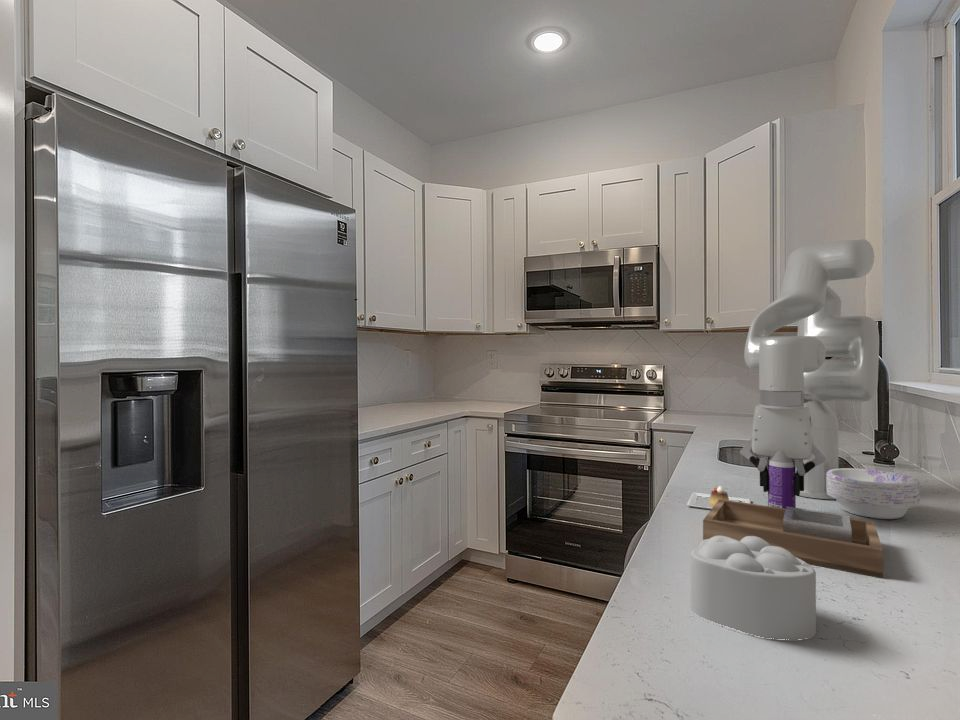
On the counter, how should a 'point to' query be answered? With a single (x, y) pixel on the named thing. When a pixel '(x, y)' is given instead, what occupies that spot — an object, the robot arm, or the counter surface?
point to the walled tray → (798, 537)
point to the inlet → (817, 524)
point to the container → (781, 481)
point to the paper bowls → (873, 492)
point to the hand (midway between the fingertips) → (781, 491)
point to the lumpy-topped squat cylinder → (753, 588)
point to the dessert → (713, 498)
